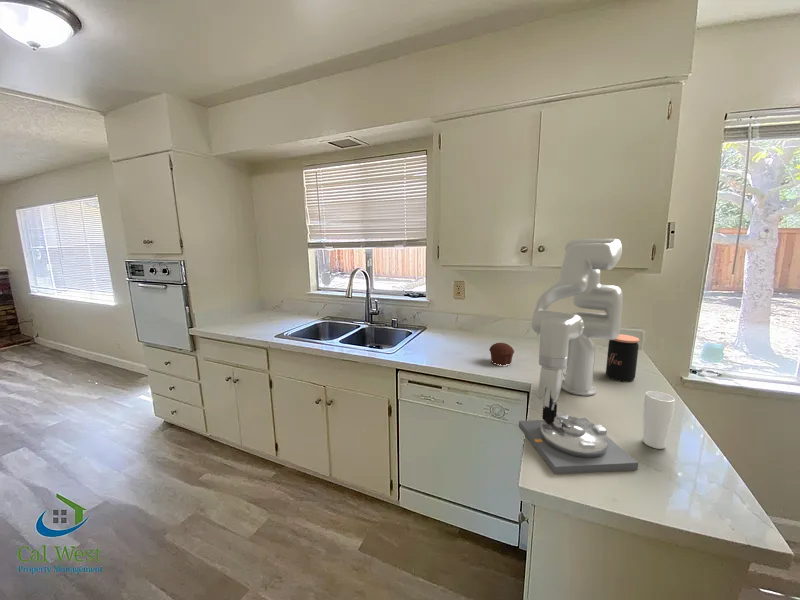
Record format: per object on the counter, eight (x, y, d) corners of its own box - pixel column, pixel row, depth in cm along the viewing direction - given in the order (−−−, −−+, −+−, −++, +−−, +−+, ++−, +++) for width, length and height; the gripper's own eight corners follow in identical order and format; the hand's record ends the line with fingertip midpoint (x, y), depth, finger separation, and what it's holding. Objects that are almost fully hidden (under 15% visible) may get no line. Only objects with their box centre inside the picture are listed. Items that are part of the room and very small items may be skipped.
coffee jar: (600, 372, 149) (604, 333, 146) (625, 372, 148) (630, 334, 145) (613, 381, 138) (617, 340, 135) (640, 382, 137) (645, 341, 134)
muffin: (516, 362, 162) (517, 342, 161) (510, 369, 153) (511, 348, 152) (492, 357, 169) (493, 339, 167) (485, 364, 160) (486, 344, 158)
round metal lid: (530, 438, 95) (531, 407, 93) (554, 416, 106) (556, 389, 105) (595, 466, 83) (598, 431, 81) (615, 439, 94) (618, 408, 92)
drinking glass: (655, 437, 99) (661, 390, 96) (675, 451, 92) (682, 401, 89) (633, 437, 98) (639, 390, 96) (651, 451, 92) (658, 401, 89)
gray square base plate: (518, 426, 105) (519, 420, 105) (585, 423, 106) (585, 417, 106) (554, 473, 83) (555, 466, 83) (637, 469, 85) (638, 461, 84)
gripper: (544, 349, 104) (541, 403, 107) (532, 366, 91) (529, 427, 94) (571, 354, 100) (567, 409, 103) (562, 372, 87) (558, 435, 90)
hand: (549, 417), depth 99 cm, fingers open, 2 cm apart
